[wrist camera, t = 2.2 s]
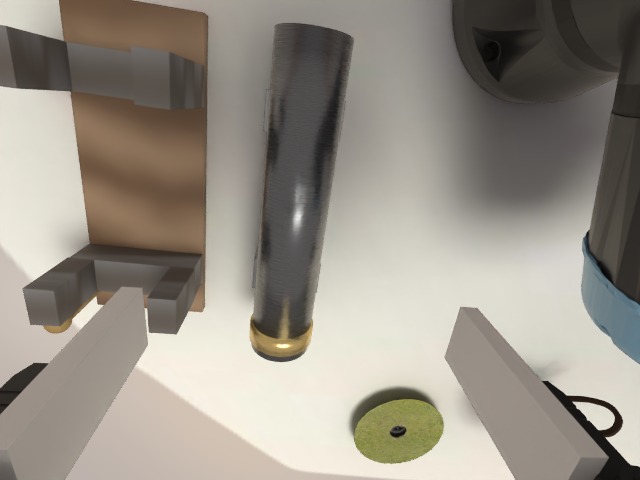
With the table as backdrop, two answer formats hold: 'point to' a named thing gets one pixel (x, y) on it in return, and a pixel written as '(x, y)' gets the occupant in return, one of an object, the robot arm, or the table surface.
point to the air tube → (297, 183)
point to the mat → (398, 431)
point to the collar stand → (126, 153)
